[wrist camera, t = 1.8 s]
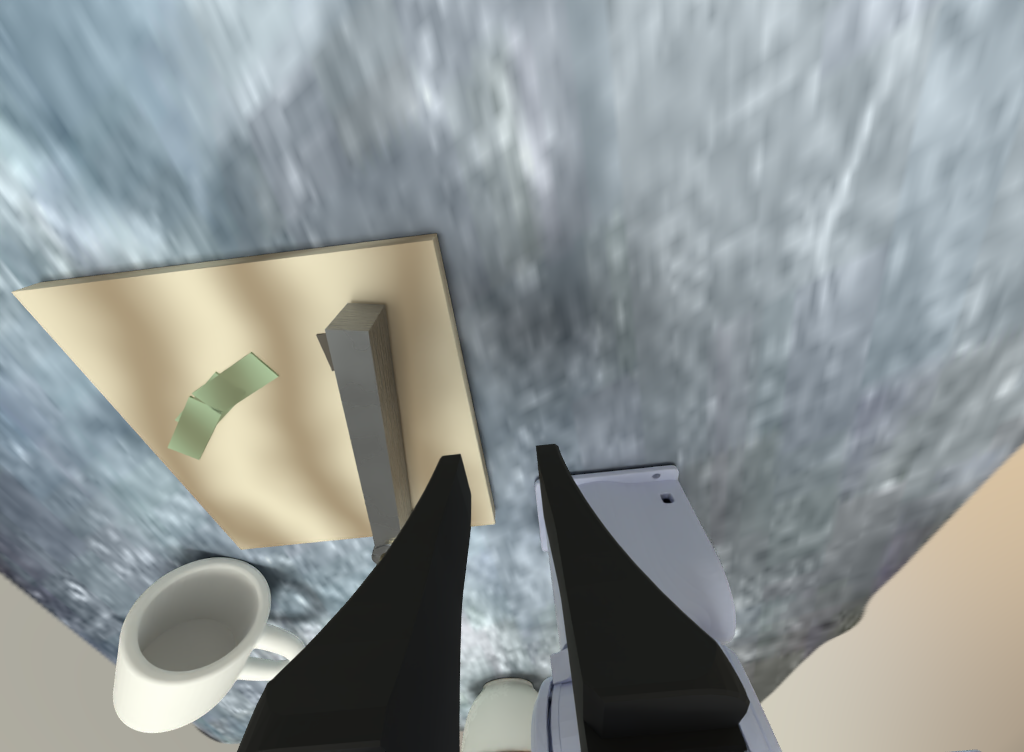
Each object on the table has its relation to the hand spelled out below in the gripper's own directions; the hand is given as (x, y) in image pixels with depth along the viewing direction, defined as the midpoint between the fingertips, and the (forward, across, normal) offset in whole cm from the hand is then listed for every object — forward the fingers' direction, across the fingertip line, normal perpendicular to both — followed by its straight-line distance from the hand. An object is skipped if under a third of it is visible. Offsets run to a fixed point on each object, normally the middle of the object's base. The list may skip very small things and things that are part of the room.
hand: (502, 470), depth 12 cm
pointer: (+7, +7, +4) cm, 11 cm away
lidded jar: (+9, +5, +47) cm, 48 cm away
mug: (+9, +24, +21) cm, 33 cm away
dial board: (+8, +11, +4) cm, 14 cm away
